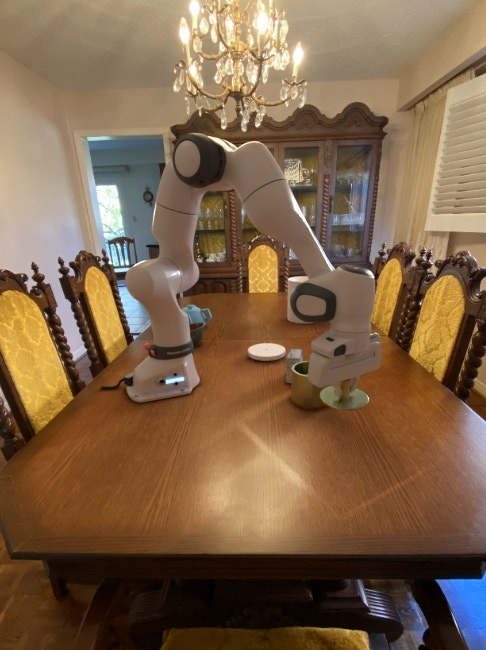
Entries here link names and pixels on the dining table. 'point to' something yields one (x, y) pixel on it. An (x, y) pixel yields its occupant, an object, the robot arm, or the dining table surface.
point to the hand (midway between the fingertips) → (344, 393)
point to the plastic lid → (266, 351)
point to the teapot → (197, 314)
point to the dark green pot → (196, 333)
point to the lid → (344, 397)
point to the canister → (291, 285)
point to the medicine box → (292, 362)
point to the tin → (304, 388)
